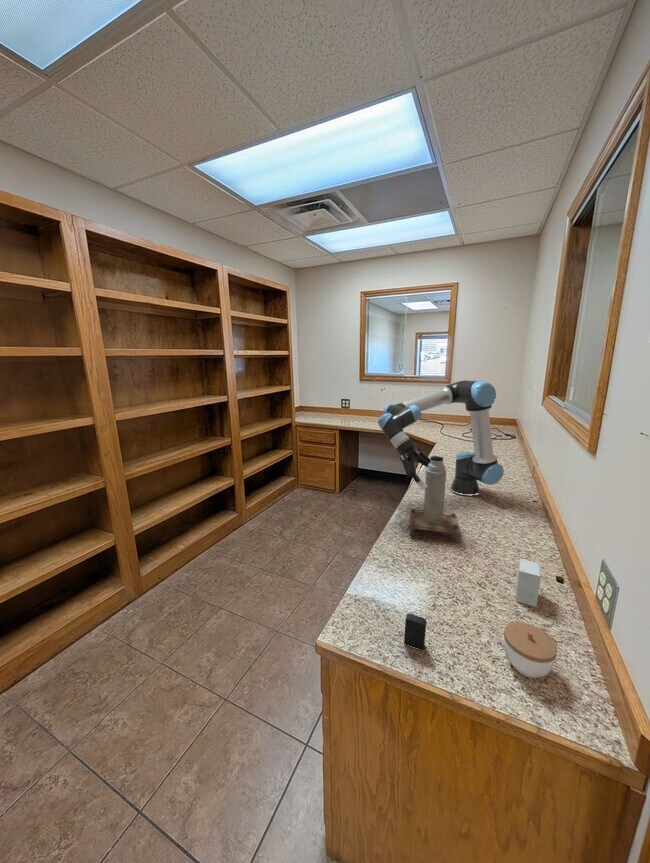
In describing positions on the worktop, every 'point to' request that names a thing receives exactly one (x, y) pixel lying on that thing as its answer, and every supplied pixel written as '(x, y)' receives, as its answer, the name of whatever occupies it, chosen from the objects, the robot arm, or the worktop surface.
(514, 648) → the lidded jar
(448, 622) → the worktop surface
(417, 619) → the ink cartridge
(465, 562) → the worktop surface
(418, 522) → the peg shelf
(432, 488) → the thermos bottle
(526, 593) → the small box
